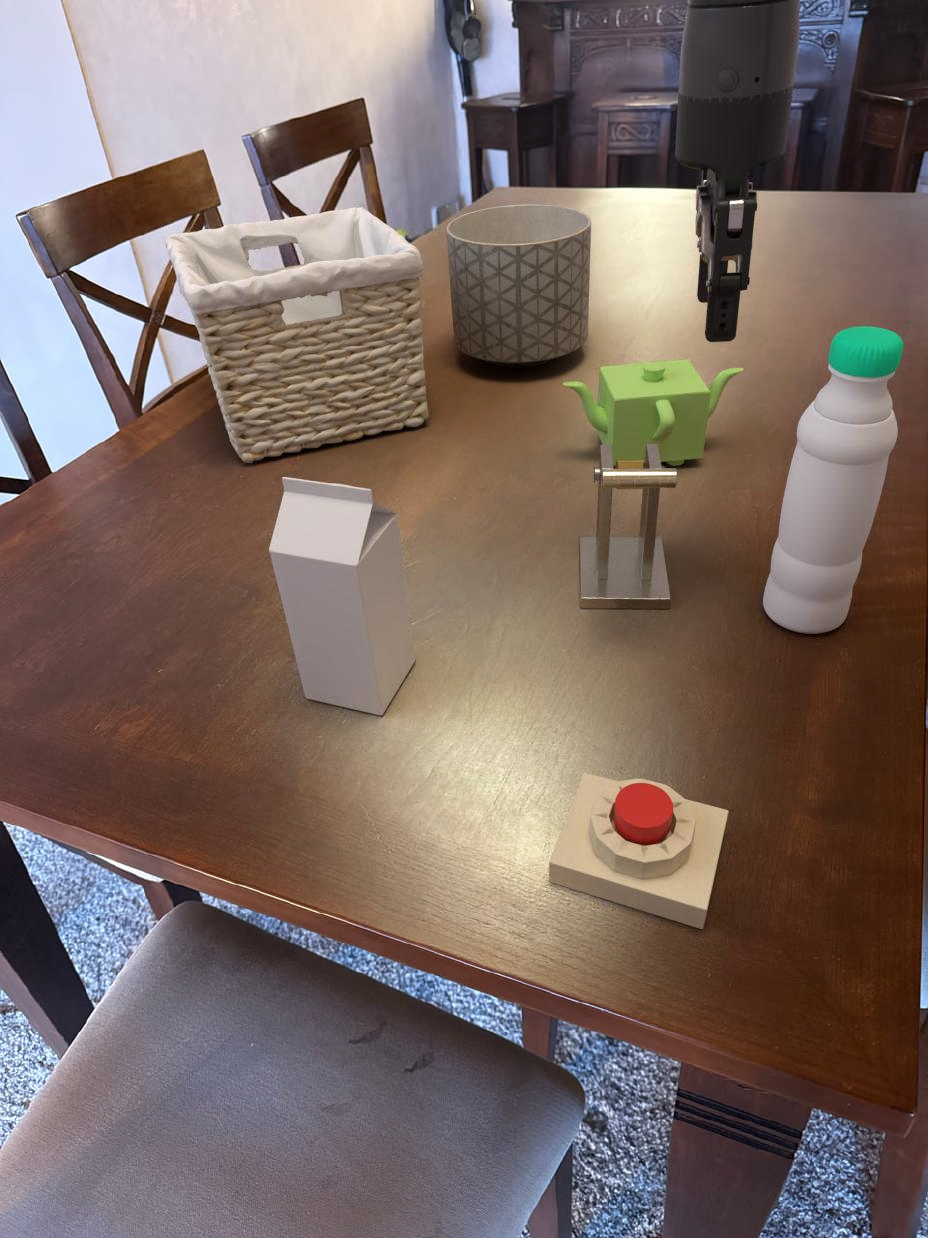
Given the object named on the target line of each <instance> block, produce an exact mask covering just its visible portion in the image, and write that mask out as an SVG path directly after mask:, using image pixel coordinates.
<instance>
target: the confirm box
mask: <svg viewBox="0 0 928 1238" xmlns="http://www.w3.org/2000/svg"><path fill="white" fill-rule="evenodd" d="M634 783H648V784H652V785H655V786H657V787H659V788H661V789H662V790H664V791H665V792H666V793H667V794H668V795H669V797H670V798H671V800H672V803H673V815H672V822H671V828H670V831H669V833H668V835H667V836H666V837H665V838H664V839H663V840H661V841H660V842H658V843H655V844H650V845H641V844H636V843H633V842H630V841H628V840H627V839H625V838H624V837H623V836H622V835H620V833H619V832H618V831H617V829H616V827H615V824H614V812H615V800H616V797H617V795H618V793H619V792H620V791H621V790H622V789H623V788H624V787H626V786H628V785H630V784H634ZM729 812H730V811H729V810H728V809H726V808H721V807H717V806H713V805H710V804H706V803H703V802H698V801H694V800H692V799H687V798H684V796H682V795H680V794H679V793H678V792H677V791H676V790H674V789H673V788H671V786H670V785H668V784H664V783H661V782H658V781H653V780H650V779H645V778H641V777H639V778H632V779H627V780H626V779H625V780H615V779H611V778H607V777H604V776H600V775H596V774H593V773H589V772H583V774H582V776H581V779H580V781H579V784H578V787H577V788H576V791H575V794H574V797H573V799H572V802H571V804H570V807H569V810H568V812H567V815H566V818H565V820H564V822H563V825H562V827H561V830H560V833H559V835H558V837H557V841H556V843H555V846H554V848H553V851H552V853H551V855H550V859H549V861H548V882H550V883H552V884H554V885H558V886H562V887H564V888H568V889H571V890H574V891H578V892H580V893H583V894H587V895H590V896H593V897H596V898H600V899H604V900H607V901H609V902H612V903H616V904H619V905H622V906H625V907H628V908H632V909H635V910H639V911H642V912H645V913H648V914H652V915H654V916H657V917H661V918H664V919H667V920H671V921H673V922H677V923H680V924H684V925H687V926H690V927H693V928H697V929H699V930H704V928H705V923H706V919H707V914H708V909H709V905H710V900H711V896H712V892H713V887H714V882H715V878H716V873H717V869H718V865H719V864H718V863H719V859H720V854H721V850H722V845H723V840H724V837H725V832H726V827H727V821H728V817H729Z"/></svg>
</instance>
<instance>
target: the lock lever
mask: <svg viewBox="0 0 928 1238" xmlns="http://www.w3.org/2000/svg"><path fill="white" fill-rule="evenodd" d="M644 468H645V463H644V461H641V460H617V461H616V466H615V468H613V469H603V470H602V488H612V489H617V490H643V488H660V489H675V488H677V484H678V483H677V482H678V470H677V468H665V469H644Z"/></svg>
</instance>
